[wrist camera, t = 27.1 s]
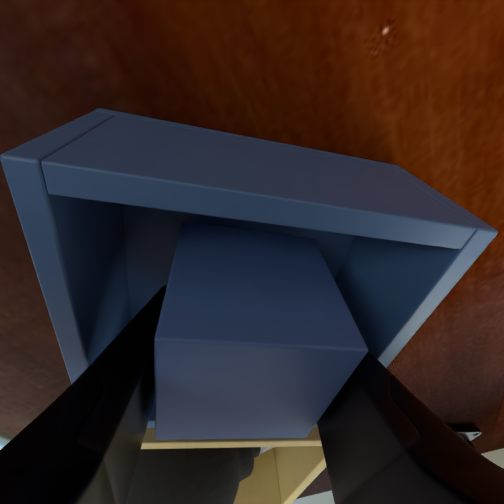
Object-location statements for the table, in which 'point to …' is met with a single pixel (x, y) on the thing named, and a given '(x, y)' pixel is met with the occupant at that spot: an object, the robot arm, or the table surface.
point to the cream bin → (264, 464)
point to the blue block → (249, 337)
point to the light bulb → (191, 475)
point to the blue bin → (224, 223)
